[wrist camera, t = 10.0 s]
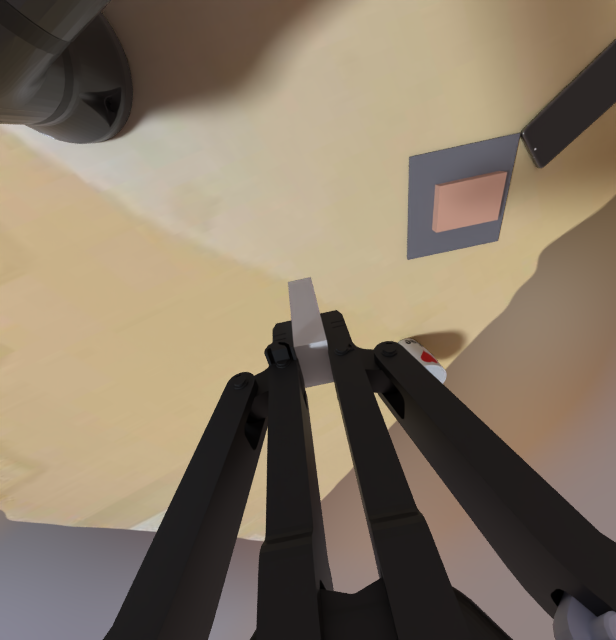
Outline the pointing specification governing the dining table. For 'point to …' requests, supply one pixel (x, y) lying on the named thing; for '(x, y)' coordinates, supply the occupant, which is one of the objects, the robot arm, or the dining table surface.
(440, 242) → the mat
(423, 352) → the cup
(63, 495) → the dining table surface
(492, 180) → the slab
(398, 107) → the dining table surface
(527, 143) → the smartphone
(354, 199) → the dining table surface
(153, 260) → the dining table surface
